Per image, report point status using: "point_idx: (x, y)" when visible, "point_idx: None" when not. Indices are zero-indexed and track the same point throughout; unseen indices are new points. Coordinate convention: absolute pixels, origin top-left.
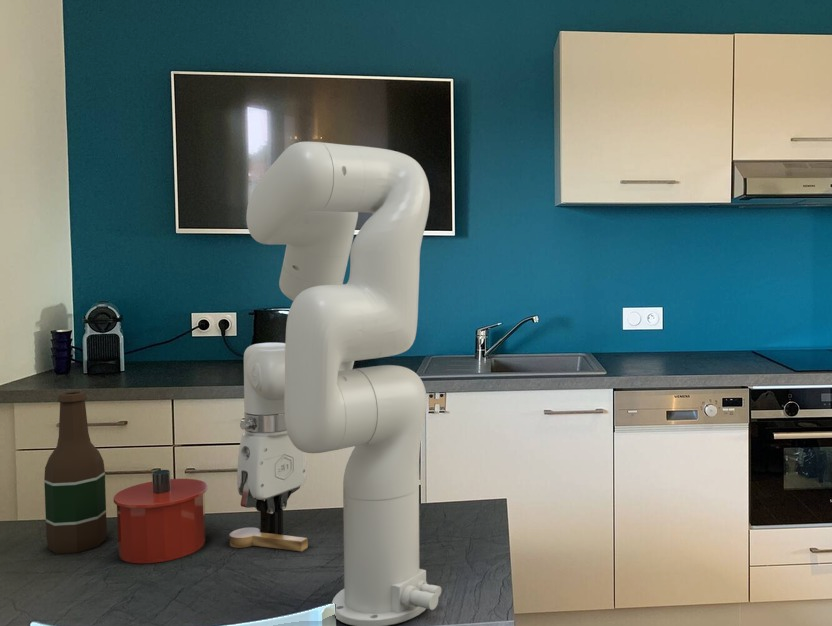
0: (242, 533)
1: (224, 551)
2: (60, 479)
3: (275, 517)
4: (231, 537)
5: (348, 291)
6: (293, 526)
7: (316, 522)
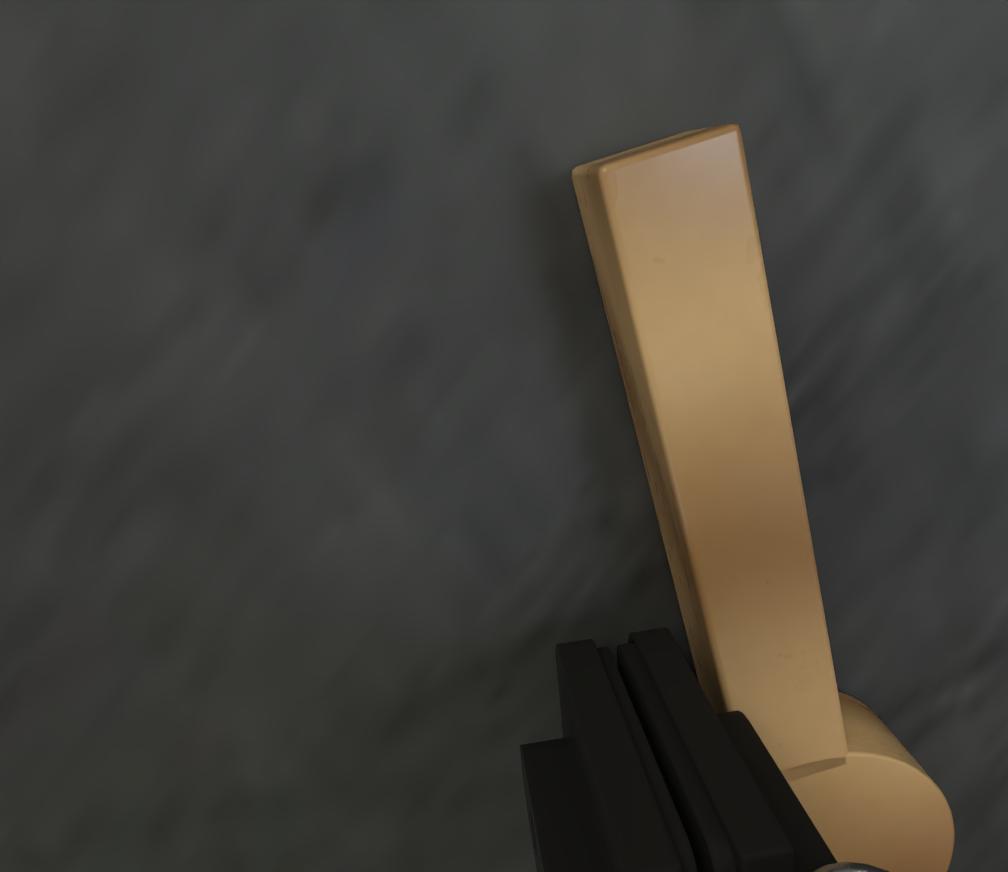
0: None
1: (981, 749)
2: None
3: (757, 792)
4: (943, 860)
5: None
6: (261, 806)
7: (23, 734)
